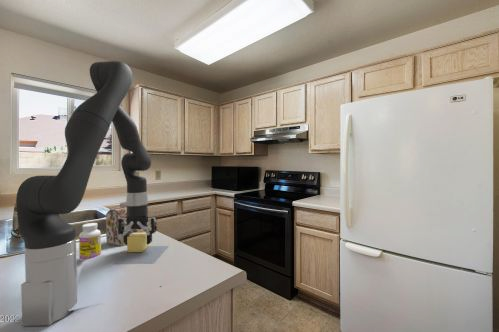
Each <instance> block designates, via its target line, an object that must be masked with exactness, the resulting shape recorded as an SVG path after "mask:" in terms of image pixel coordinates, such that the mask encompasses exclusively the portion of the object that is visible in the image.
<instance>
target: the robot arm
mask: <svg viewBox="0 0 499 332" xmlns="http://www.w3.org/2000/svg"><path fill="white" fill-rule="evenodd" d="M89 76H90V80H91V83H92V84H93V87H94V89H95V91H96V93H94V94H93V95H91V96H90V97H89V98H87V99H86V100H84V101H82V103H80V104H79V105H78V106H77V107H76V108H75V110H74V111H73V113H72V114H71V116H70V118H69V119H68V121H67V123H66V125H65V127H64V137H65V138H64V139H65V143H66V147H67V157H66V159H65V161H64V163H63V165H62V168H61V169H60V171H59V172H58V173H57V175H35V176H30V177H28V178H27V179H25V180H23V182H22V183H21V184H20V185H19V187H18V189H17V193H16V198H15V202H16V203H15V204H16V205H15V206H16V216H17V224H18V225H17V226H18V233H19V235H20V237H21V239H22V240H23V242H24V267H25V268H24V269H25V272H24V273H25V276H24V278H25V282H23V283H22V284H21V285H20V286H21V288H20V289H21V291H20V292H21V318H22V319H21V320H22V327H32V326H37V327H39V326H51V325H53V323H55V322H57V321H59V320H61V319H63V318H65V317H67V316H69V315H70V314H71V313H73V311H75V309H73V308H74V307H75V306H76V305H77V303H78V282H77V281H78V280H77V278H78V277H77V275H78V274H77V238H76V237H77V236H76V228H75V226H74V225H72V224H70V223H68V222H66V221H64V220H63V219H62V217H61V216H60V215H66V214H70V213H72V212H73V211H75V210H76V209H77V208H78V206H79V205H80V204H81V202H82V201H83V198H84V195H85V192H86V190H87V186H88V184H89V179H90V176H91V173H92V170H93V167H94V164H95V161H96V159H97V157H98V154H99V151H100V149H101V146H102V145H103V143H104V140H105V139H106V137H107V134H108V132H109V130H110V127H111V124H113V127H114V130H115V132H116V135H117V139H118V140H119V141H118V142H119V145H120V147H121V148H122V149H123V150H126V151H129V153H125V154H124V155H122V157H121V161H120V162H121V163H120V164H121V168H122V172H123V174H124V178H125V181H126V201H125V202H126V204H127V218H124V217H123V218H120V219H119V220H118V234H122V235H123V236H124V243H125V245H127V237H128V236H129V234H128V233H129V232H130V230H131V229H142V230H143V231H145V232H146V234H147V244H148V245H150V244H151V243H152V242H153V235H154V234H155V233H156V232H157V231H158V226H157V225H158V224H157V217H156V216H153V217H149V216H148V215H149V207H148V206H149V203H148V202H149V201H148V199H149V198H148V192H147V190H148V189H147V188H148V186H147V183H148V181H147V178H146V177H144V176H140V175H138V173H137V172H144V171H147V170H149V169H150V168H151V166H152V159H151V155H150V154H149V152H148V150H147V149H146V147H145V146H144V144H143V142H142V140H141V138H140V133H139V130H138V127H137V125H136V123H135V121H134V119H133V118H132V117H131V116H130V115H129V114H128V113H127V112H126V111H125V110H124V108H123V107H122V106H121V103H122V102H123V100H124V98H125V97H126V96H127V94H128V92H129V91H130V89H131V88H132V84H133V72H132V70H131V68H130V66H129V65H128V63H125V62H124V61H118V60H108V61H107V60H106V61H97V62H93V63H92V64H91V65H90V67H89ZM126 222H127V223H128V227H127V228H126V229H125V230H124V227H125V223H126ZM148 223H150V224H148Z"/></svg>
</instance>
